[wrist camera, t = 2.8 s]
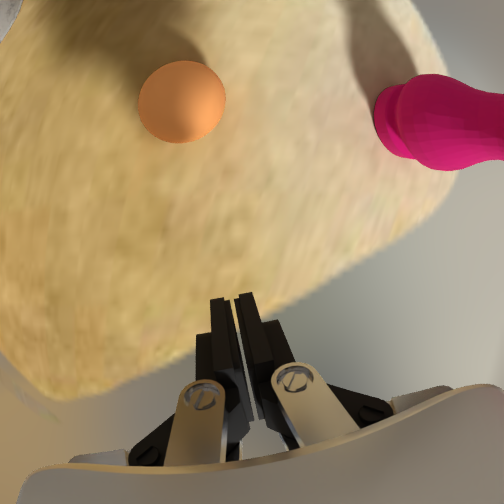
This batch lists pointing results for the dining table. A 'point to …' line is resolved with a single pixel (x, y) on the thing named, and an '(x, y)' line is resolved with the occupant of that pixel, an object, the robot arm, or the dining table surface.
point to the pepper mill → (441, 122)
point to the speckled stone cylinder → (8, 15)
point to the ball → (181, 101)
